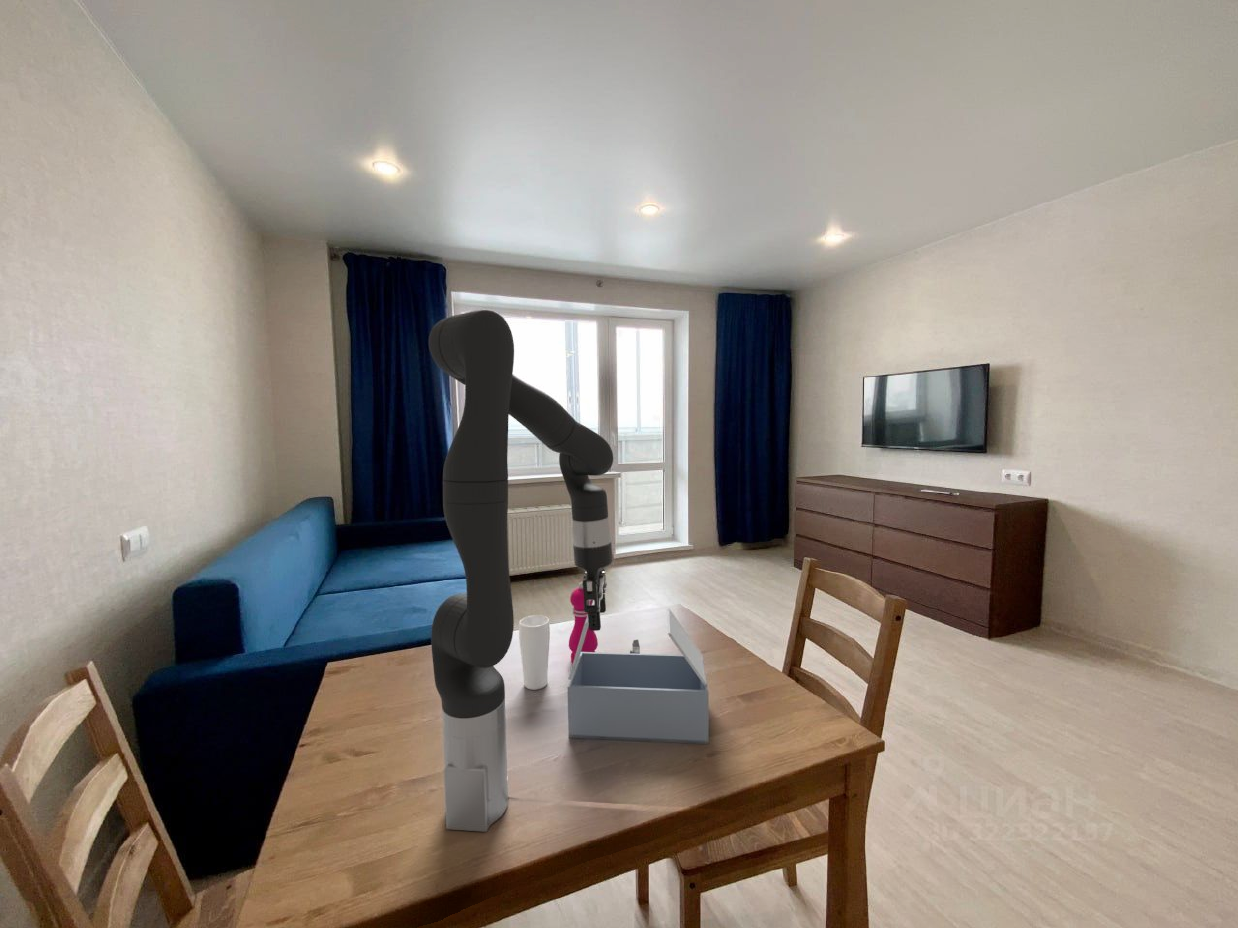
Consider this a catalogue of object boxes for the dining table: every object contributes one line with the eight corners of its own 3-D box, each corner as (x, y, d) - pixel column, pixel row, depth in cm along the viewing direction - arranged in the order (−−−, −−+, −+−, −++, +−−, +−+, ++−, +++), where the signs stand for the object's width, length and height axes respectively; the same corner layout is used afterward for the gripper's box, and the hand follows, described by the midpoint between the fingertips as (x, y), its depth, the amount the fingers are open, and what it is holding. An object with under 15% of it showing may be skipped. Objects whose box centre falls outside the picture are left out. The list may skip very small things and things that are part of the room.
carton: (708, 744, 89) (708, 691, 88) (568, 737, 91) (567, 686, 90) (702, 700, 103) (702, 655, 102) (580, 696, 105) (580, 651, 104)
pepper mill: (565, 657, 123) (563, 580, 121) (591, 651, 126) (590, 576, 124) (574, 670, 116) (573, 588, 115) (602, 663, 119) (601, 584, 118)
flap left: (587, 623, 90) (584, 622, 90) (570, 679, 91) (568, 679, 91) (596, 599, 102) (593, 599, 102) (581, 650, 103) (579, 649, 103)
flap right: (704, 685, 89) (706, 683, 89) (667, 634, 89) (670, 632, 89) (699, 654, 101) (701, 653, 101) (667, 609, 101) (669, 607, 101)
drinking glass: (553, 677, 113) (552, 615, 112) (546, 693, 106) (545, 627, 105) (525, 676, 114) (523, 614, 113) (516, 692, 107) (514, 626, 106)
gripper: (607, 550, 87) (613, 636, 89) (614, 531, 102) (619, 606, 103) (566, 551, 88) (572, 637, 90) (579, 532, 102) (585, 607, 104)
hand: (598, 620), depth 96 cm, fingers open, 8 cm apart
